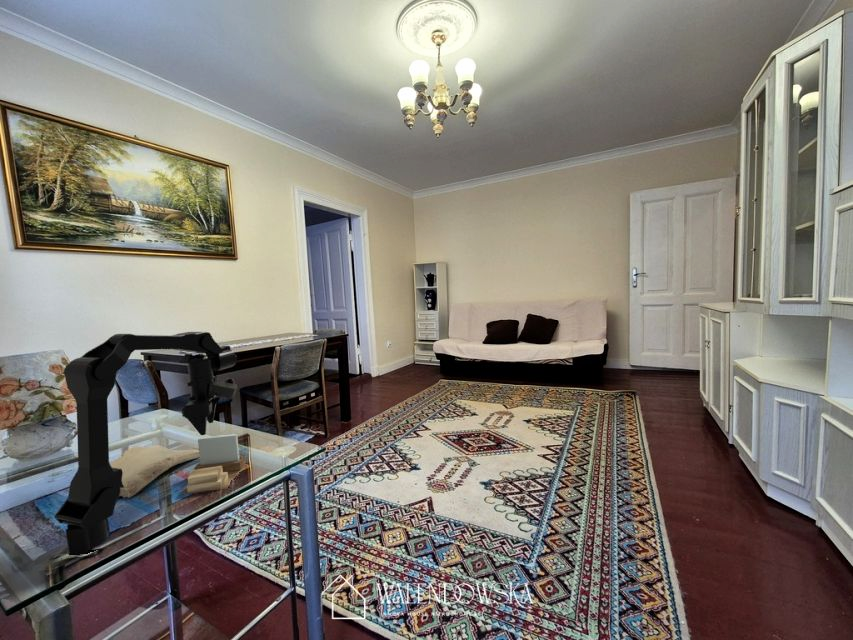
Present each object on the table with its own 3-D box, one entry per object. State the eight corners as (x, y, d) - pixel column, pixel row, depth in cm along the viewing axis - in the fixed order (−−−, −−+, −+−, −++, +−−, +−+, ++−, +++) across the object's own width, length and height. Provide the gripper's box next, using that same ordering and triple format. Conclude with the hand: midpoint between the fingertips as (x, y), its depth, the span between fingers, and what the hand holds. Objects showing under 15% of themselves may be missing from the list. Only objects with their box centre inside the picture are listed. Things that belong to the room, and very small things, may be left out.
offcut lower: (221, 488, 93) (220, 481, 92) (187, 492, 91) (187, 485, 91) (228, 478, 97) (227, 471, 97) (196, 482, 96) (195, 475, 96)
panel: (238, 468, 103) (235, 435, 102) (201, 472, 101) (197, 439, 100) (240, 466, 104) (237, 433, 103) (203, 470, 102) (199, 437, 101)
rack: (230, 491, 93) (228, 479, 92) (179, 498, 91) (177, 485, 90) (247, 465, 106) (246, 453, 106) (203, 470, 104) (202, 458, 104)
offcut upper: (217, 481, 93) (216, 473, 92) (188, 485, 91) (187, 478, 91) (222, 472, 97) (222, 465, 97) (194, 476, 95) (194, 469, 95)
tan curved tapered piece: (71, 502, 93) (132, 501, 89) (65, 474, 92) (127, 472, 88) (157, 459, 117) (209, 457, 113) (153, 437, 116) (205, 434, 112)
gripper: (227, 380, 94) (233, 436, 95) (238, 365, 111) (243, 413, 113) (177, 386, 90) (185, 444, 92) (197, 369, 107) (203, 419, 109)
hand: (207, 428), depth 101 cm, fingers open, 9 cm apart
